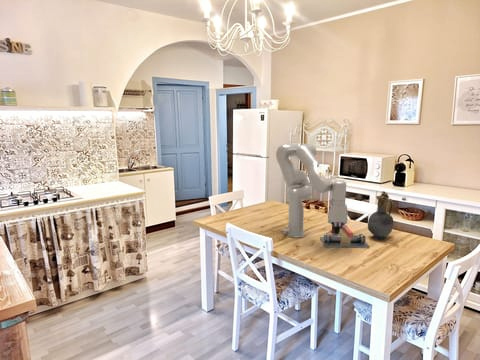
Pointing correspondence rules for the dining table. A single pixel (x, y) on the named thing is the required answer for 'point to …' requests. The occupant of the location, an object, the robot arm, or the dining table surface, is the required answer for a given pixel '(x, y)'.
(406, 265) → the dining table surface
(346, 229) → the lever
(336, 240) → the valve body
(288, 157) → the robot arm
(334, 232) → the mechanical component
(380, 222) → the pitcher
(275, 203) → the dining table surface
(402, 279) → the dining table surface
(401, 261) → the dining table surface
